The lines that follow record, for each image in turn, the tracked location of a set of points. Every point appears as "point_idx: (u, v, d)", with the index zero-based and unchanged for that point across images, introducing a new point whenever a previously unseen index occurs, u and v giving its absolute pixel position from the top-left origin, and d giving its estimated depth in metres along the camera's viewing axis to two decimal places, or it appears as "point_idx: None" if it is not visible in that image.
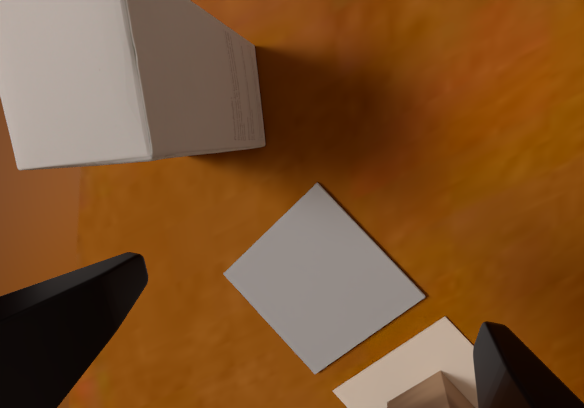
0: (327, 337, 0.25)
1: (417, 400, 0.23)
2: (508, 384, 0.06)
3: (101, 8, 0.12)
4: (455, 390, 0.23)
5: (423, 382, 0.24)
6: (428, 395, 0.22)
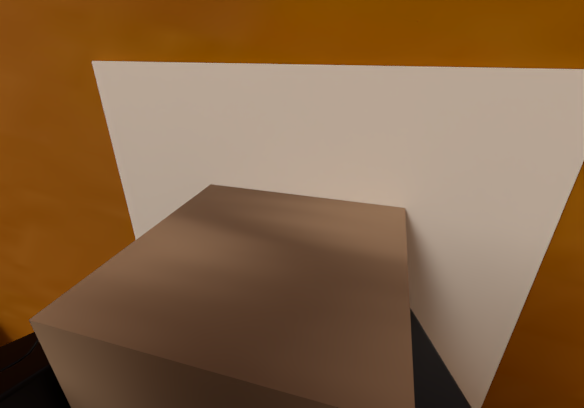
0: None
1: (292, 224, 0.07)
2: None
3: None
4: None
5: (337, 202, 0.08)
6: (339, 234, 0.06)
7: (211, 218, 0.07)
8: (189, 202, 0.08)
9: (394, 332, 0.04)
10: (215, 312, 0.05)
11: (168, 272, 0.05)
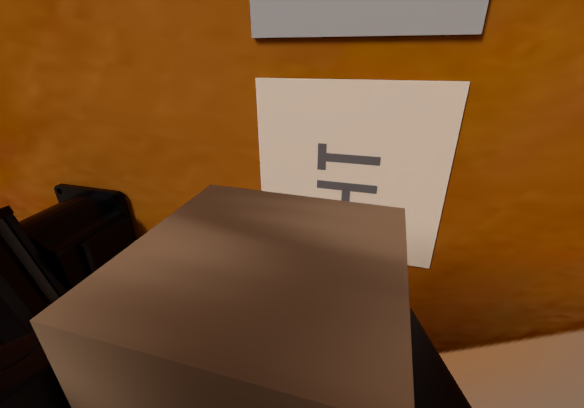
0: None
1: (292, 224, 0.07)
2: None
3: None
4: None
5: (337, 203, 0.08)
6: (339, 234, 0.06)
7: (211, 218, 0.07)
8: (189, 203, 0.08)
9: (394, 333, 0.04)
10: (216, 312, 0.05)
11: (168, 273, 0.05)
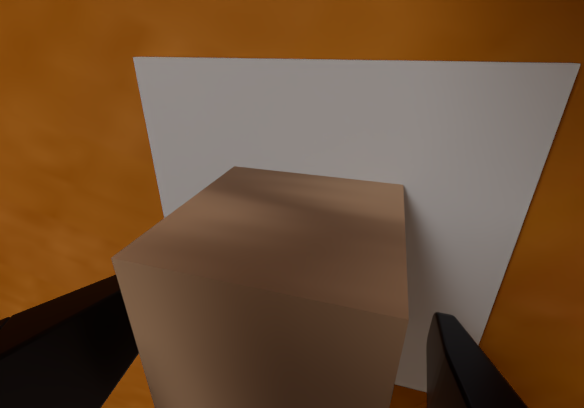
0: None
1: (308, 195, 0.08)
2: (446, 369, 0.06)
3: None
4: None
5: (345, 180, 0.09)
6: (348, 203, 0.08)
7: (239, 191, 0.08)
8: (218, 180, 0.09)
9: (394, 266, 0.06)
10: (254, 253, 0.06)
11: (212, 228, 0.07)
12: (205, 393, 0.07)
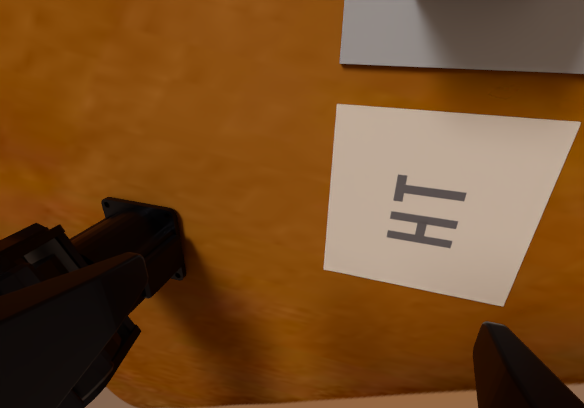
0: (412, 23, 0.15)
1: None
2: (508, 384, 0.06)
3: None
4: None
5: None
6: None
7: None
8: None
9: None
10: None
11: None
12: None
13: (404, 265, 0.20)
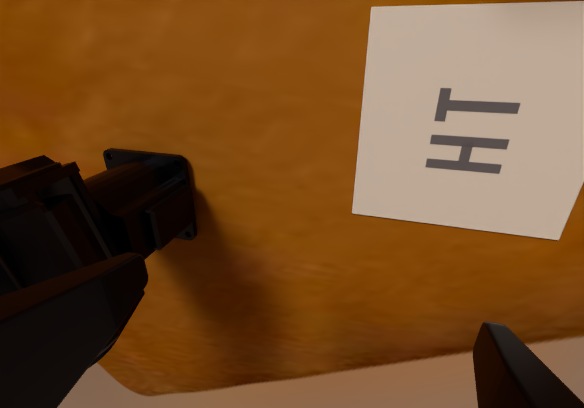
0: None
1: None
2: (508, 384, 0.06)
3: None
4: None
5: None
6: None
7: None
8: None
9: None
10: None
11: None
12: None
13: (445, 200, 0.18)
